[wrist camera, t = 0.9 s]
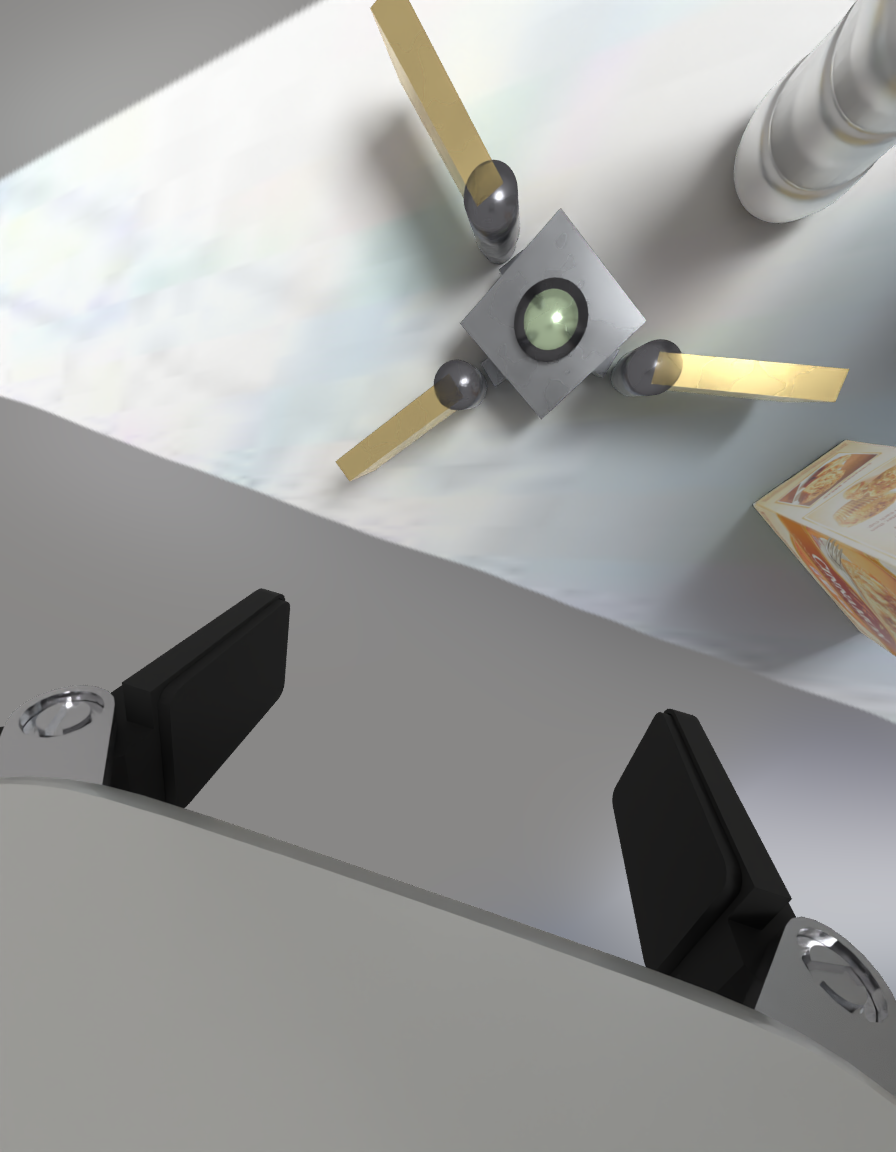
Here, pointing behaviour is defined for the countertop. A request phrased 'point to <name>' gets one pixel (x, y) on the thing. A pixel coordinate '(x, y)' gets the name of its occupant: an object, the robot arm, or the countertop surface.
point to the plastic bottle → (823, 120)
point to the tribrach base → (552, 317)
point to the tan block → (417, 418)
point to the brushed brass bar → (452, 131)
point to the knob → (722, 376)
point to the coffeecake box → (845, 531)
